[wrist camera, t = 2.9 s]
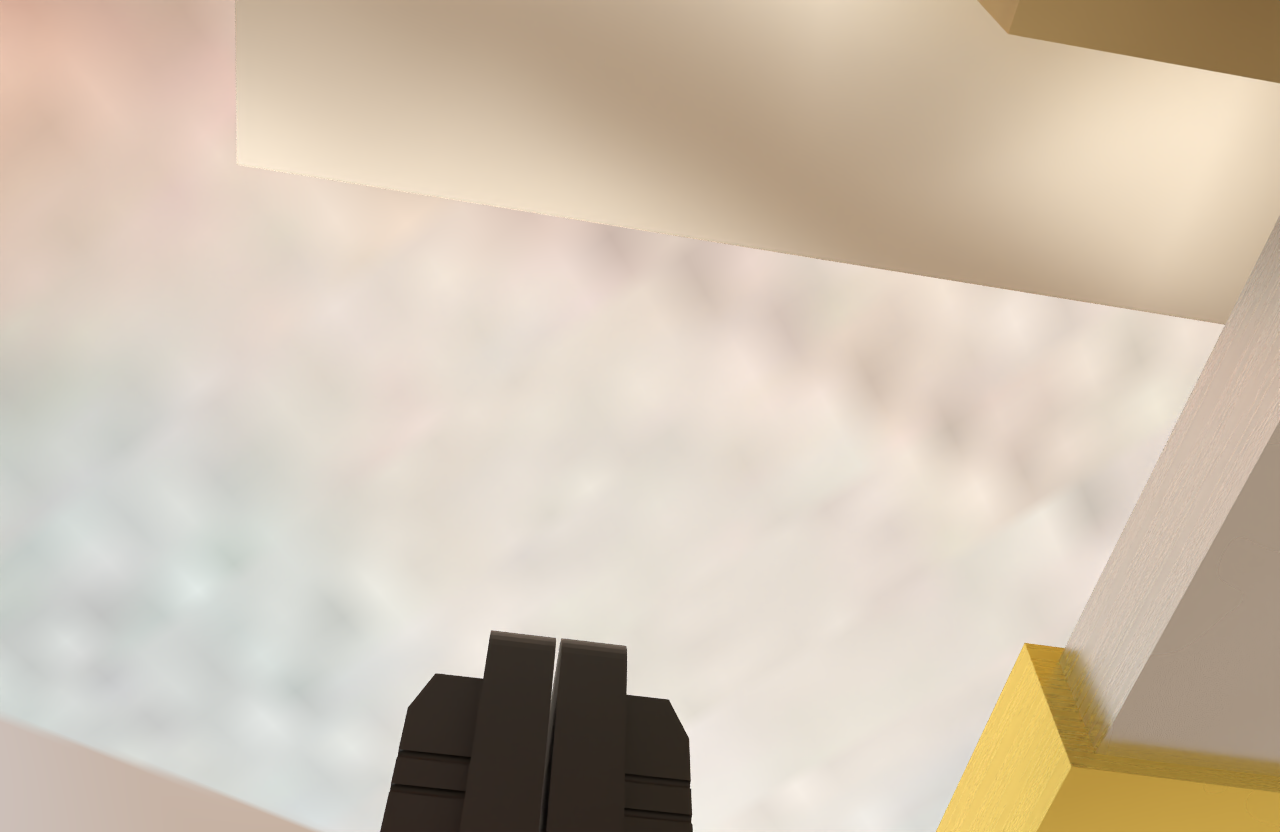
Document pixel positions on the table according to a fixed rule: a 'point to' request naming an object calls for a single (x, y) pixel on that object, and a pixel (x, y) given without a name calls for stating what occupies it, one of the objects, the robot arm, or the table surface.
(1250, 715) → the valve lever
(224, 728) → the table surface
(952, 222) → the pipe board
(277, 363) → the table surface
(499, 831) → the robot arm
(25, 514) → the table surface
